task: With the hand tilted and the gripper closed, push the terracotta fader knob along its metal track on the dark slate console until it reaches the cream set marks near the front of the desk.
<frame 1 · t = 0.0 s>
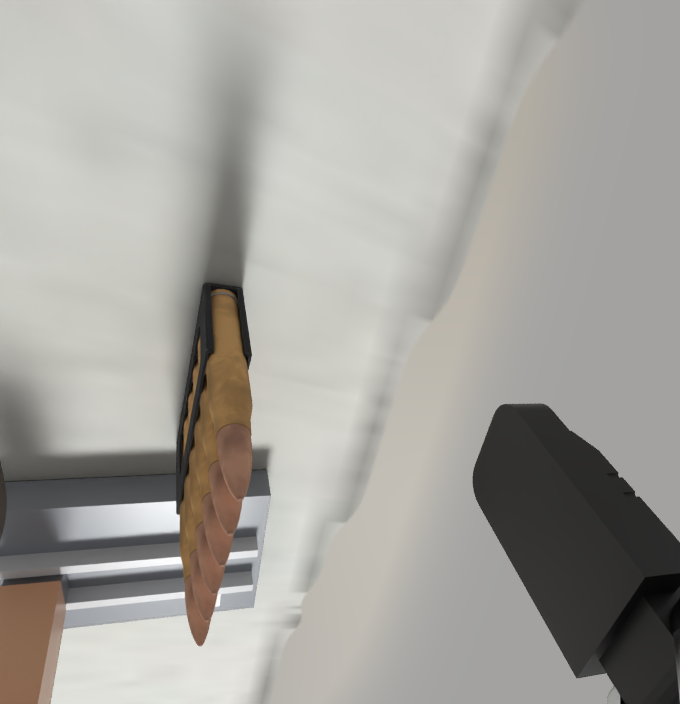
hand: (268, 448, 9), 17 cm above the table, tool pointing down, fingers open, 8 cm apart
ammunition clip: (206, 370, 30), on the table
fader: (19, 665, 29), point 7 cm above the table, slide at -5.0 cm
fader console: (132, 540, 36), on the table
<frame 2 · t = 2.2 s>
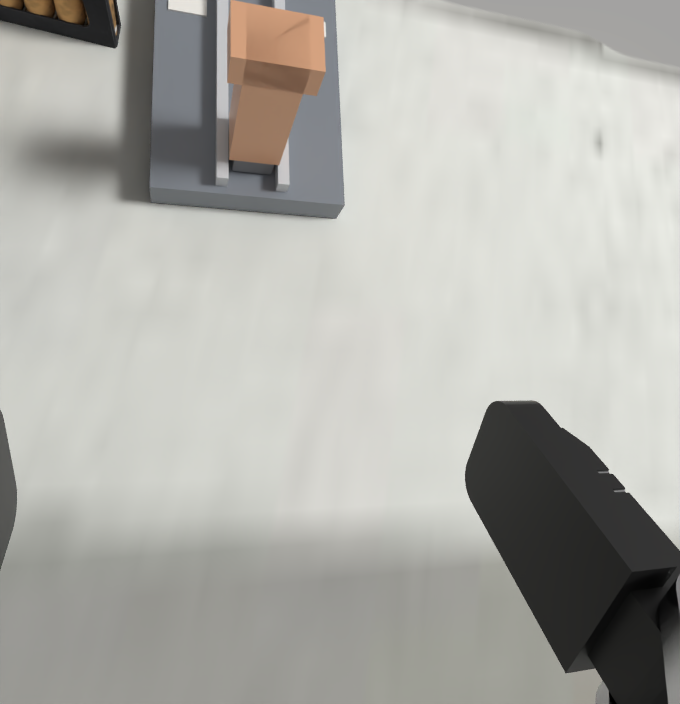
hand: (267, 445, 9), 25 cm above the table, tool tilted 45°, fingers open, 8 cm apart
ammunition clip: (30, 16, 36), on the table
fader: (263, 102, 31), point 7 cm above the table, slide at -5.0 cm
fader console: (246, 102, 39), on the table
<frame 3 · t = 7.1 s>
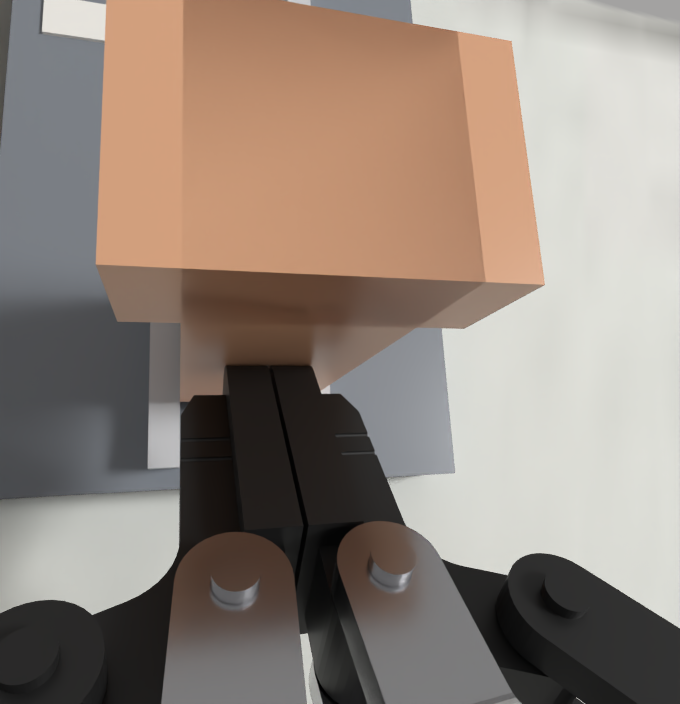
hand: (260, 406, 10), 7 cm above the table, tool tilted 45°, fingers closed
fader: (266, 290, 10), point 7 cm above the table, slide at -4.5 cm, touching gripper
fader console: (230, 226, 18), on the table
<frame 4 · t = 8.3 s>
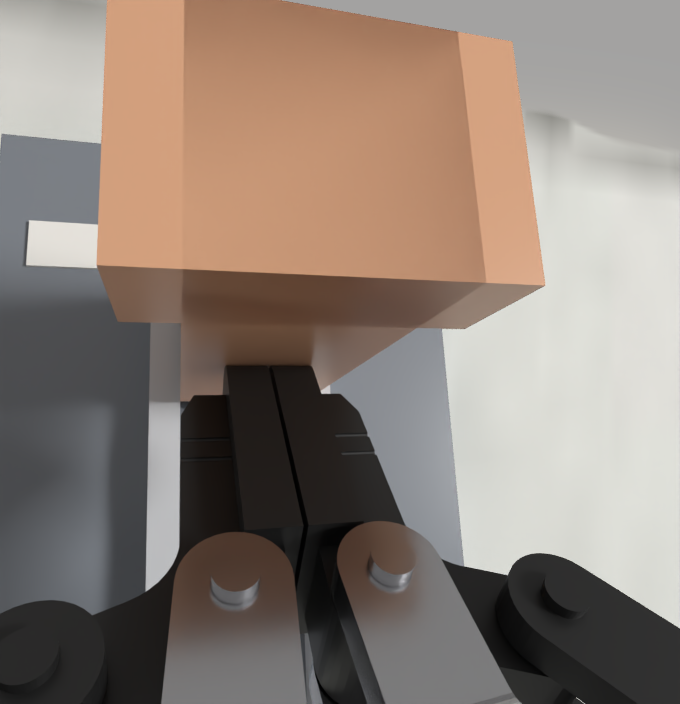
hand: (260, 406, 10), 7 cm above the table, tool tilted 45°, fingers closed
fader: (266, 290, 10), point 7 cm above the table, slide at 2.3 cm, touching gripper
fader console: (233, 442, 16), on the table
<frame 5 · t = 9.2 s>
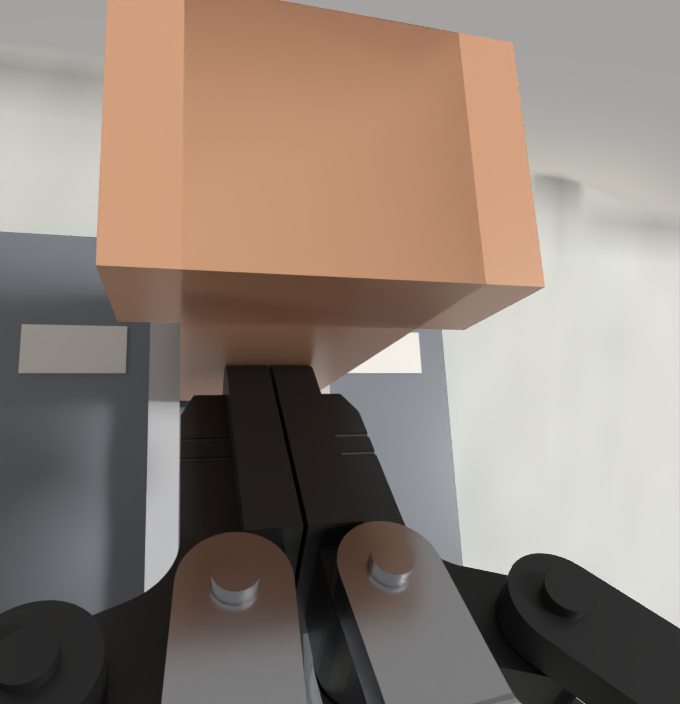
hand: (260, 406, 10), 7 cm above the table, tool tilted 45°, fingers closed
fader: (266, 290, 10), point 7 cm above the table, slide at 5.0 cm, touching gripper
fader console: (233, 540, 16), on the table
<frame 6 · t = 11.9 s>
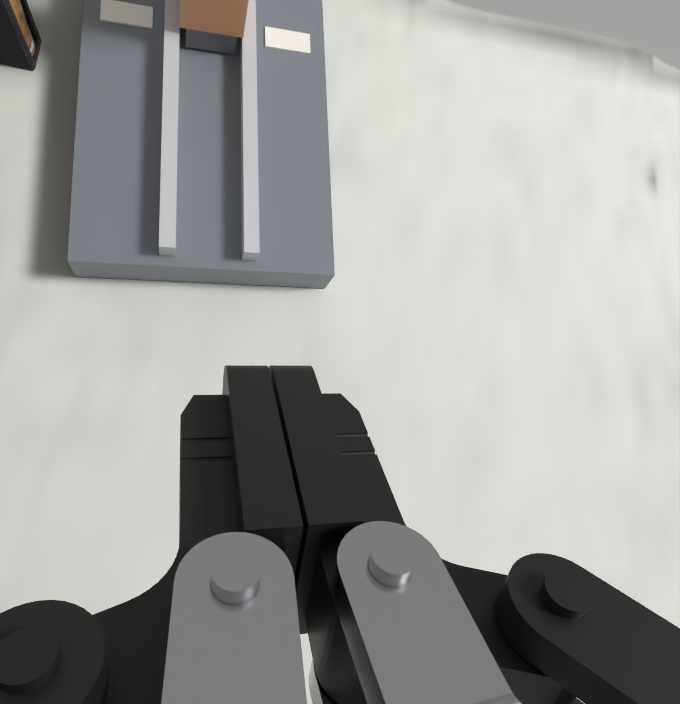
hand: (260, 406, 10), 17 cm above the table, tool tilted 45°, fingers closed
fader console: (207, 138, 30), on the table
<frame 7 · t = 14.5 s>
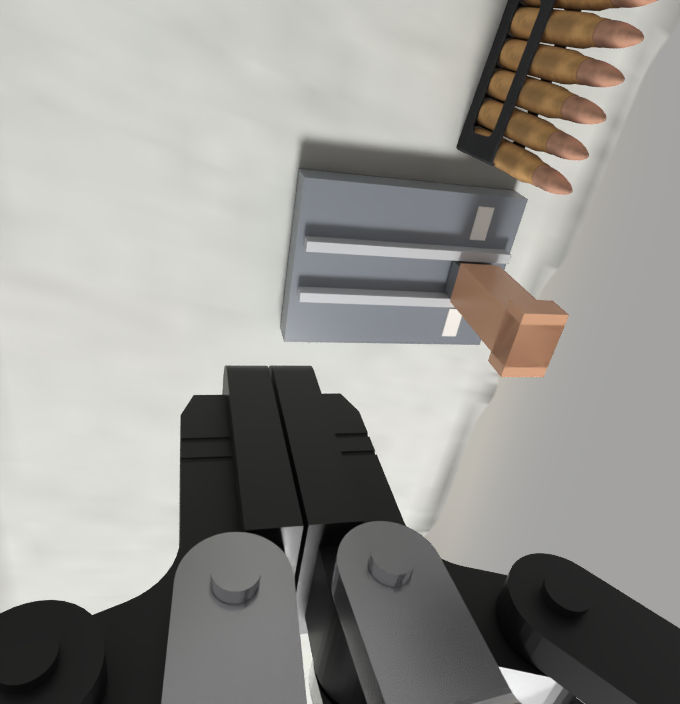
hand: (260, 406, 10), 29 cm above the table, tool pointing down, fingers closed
ammunition clip: (496, 67, 37), on the table
fader: (497, 307, 38), point 7 cm above the table, slide at 5.0 cm
fader console: (394, 260, 42), on the table
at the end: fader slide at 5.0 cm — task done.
